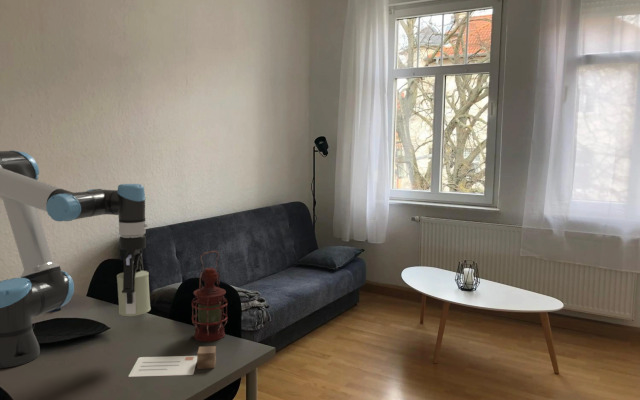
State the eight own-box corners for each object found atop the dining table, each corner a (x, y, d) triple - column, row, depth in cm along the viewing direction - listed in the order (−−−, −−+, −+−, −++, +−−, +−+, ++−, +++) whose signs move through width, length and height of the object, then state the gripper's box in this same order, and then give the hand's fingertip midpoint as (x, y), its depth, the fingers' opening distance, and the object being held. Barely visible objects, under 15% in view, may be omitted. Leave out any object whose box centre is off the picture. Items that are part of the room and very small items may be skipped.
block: (197, 369, 148) (197, 353, 147) (199, 362, 153) (199, 346, 152) (214, 369, 149) (214, 353, 148) (215, 361, 154) (215, 346, 153)
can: (111, 313, 151) (109, 274, 149) (135, 304, 159) (133, 267, 157) (133, 317, 146) (131, 277, 145) (157, 308, 155) (155, 270, 153)
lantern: (212, 327, 182) (212, 246, 179) (234, 336, 174) (235, 251, 171) (184, 336, 173) (184, 251, 169) (206, 346, 165) (206, 257, 162)
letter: (128, 377, 142) (128, 376, 142) (138, 357, 155) (138, 357, 155) (193, 375, 144) (193, 374, 144) (198, 356, 157) (198, 355, 157)
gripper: (137, 241, 140) (139, 319, 142) (152, 229, 161) (154, 297, 164) (109, 242, 139) (112, 320, 141) (128, 229, 160) (130, 298, 163)
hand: (134, 308), depth 152 cm, fingers closed on can, 9 cm apart
